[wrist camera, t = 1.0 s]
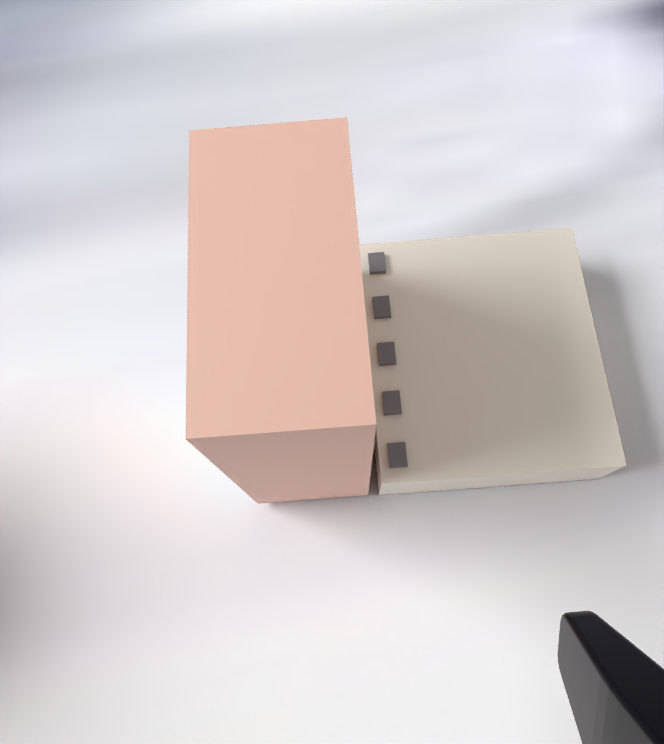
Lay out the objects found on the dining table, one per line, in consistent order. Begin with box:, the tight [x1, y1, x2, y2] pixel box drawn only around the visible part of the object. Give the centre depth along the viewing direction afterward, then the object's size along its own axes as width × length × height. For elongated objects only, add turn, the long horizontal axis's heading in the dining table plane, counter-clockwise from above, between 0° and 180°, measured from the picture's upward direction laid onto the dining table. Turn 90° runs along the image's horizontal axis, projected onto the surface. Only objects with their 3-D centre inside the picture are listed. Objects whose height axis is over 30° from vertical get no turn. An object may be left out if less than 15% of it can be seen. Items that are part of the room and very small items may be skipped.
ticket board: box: [359, 228, 627, 495], centre depth 23 cm, size 9×8×3 cm
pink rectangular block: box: [186, 118, 376, 503], centre depth 19 cm, size 8×4×10 cm, turn 4°
